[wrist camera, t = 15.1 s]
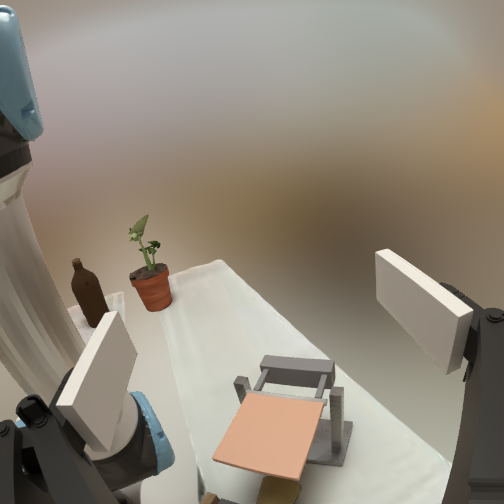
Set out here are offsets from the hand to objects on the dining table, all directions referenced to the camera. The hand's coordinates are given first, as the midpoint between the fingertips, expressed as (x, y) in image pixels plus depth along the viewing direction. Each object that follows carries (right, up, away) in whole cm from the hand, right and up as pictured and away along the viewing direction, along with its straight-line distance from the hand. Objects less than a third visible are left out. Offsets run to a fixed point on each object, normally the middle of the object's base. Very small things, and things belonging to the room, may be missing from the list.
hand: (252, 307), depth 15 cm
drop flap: (+4, -21, +23) cm, 32 cm away
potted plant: (-34, -16, +93) cm, 101 cm away
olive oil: (-56, -23, +88) cm, 107 cm away
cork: (+4, -32, +21) cm, 38 cm away
